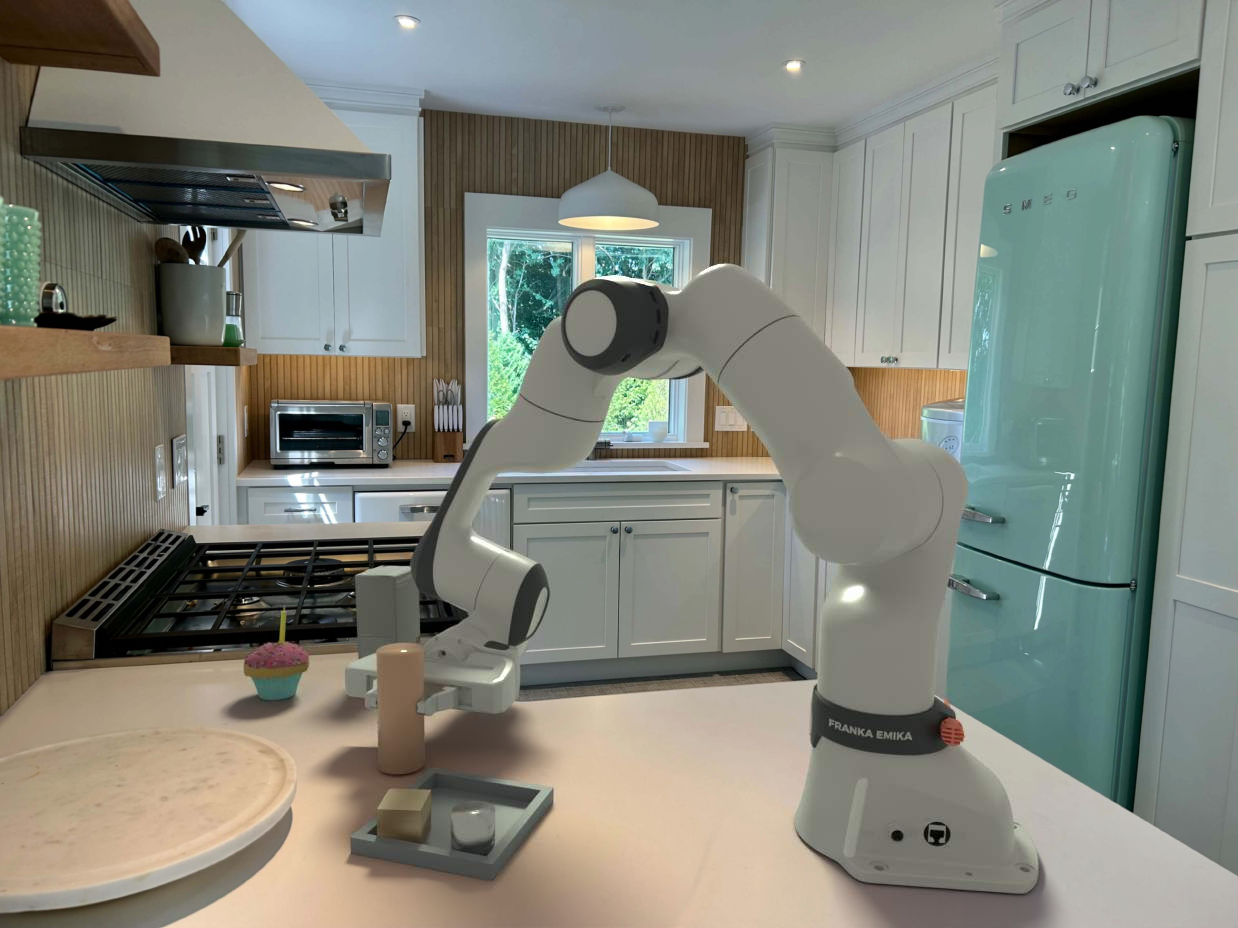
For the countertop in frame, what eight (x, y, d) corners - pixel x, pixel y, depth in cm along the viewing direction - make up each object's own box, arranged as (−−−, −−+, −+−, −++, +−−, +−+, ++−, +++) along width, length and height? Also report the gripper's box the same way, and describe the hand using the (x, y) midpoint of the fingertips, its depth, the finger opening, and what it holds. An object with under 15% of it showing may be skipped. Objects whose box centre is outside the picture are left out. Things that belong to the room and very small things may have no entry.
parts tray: (553, 810, 91) (553, 787, 91) (492, 891, 76) (492, 864, 76) (430, 789, 95) (430, 767, 94) (350, 863, 80) (350, 836, 80)
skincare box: (399, 686, 125) (398, 577, 123) (352, 682, 126) (351, 573, 125) (424, 667, 133) (423, 564, 132) (380, 663, 135) (379, 561, 133)
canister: (432, 757, 99) (431, 645, 98) (410, 776, 95) (408, 658, 93) (393, 751, 101) (391, 640, 99) (369, 770, 96) (367, 654, 95)
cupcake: (265, 681, 126) (264, 599, 125) (322, 685, 125) (321, 602, 124) (231, 703, 117) (229, 615, 116) (291, 708, 116) (290, 619, 115)
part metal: (502, 845, 82) (502, 804, 82) (483, 868, 78) (483, 825, 78) (463, 838, 83) (463, 797, 83) (442, 860, 79) (442, 817, 79)
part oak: (431, 829, 85) (431, 789, 84) (420, 852, 81) (420, 810, 80) (389, 828, 85) (389, 788, 84) (377, 850, 81) (376, 808, 80)
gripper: (380, 633, 112) (313, 667, 99) (530, 648, 106) (481, 687, 93) (381, 681, 113) (314, 721, 99) (530, 699, 107) (481, 744, 94)
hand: (396, 705), depth 96 cm, fingers closed on canister, 5 cm apart
